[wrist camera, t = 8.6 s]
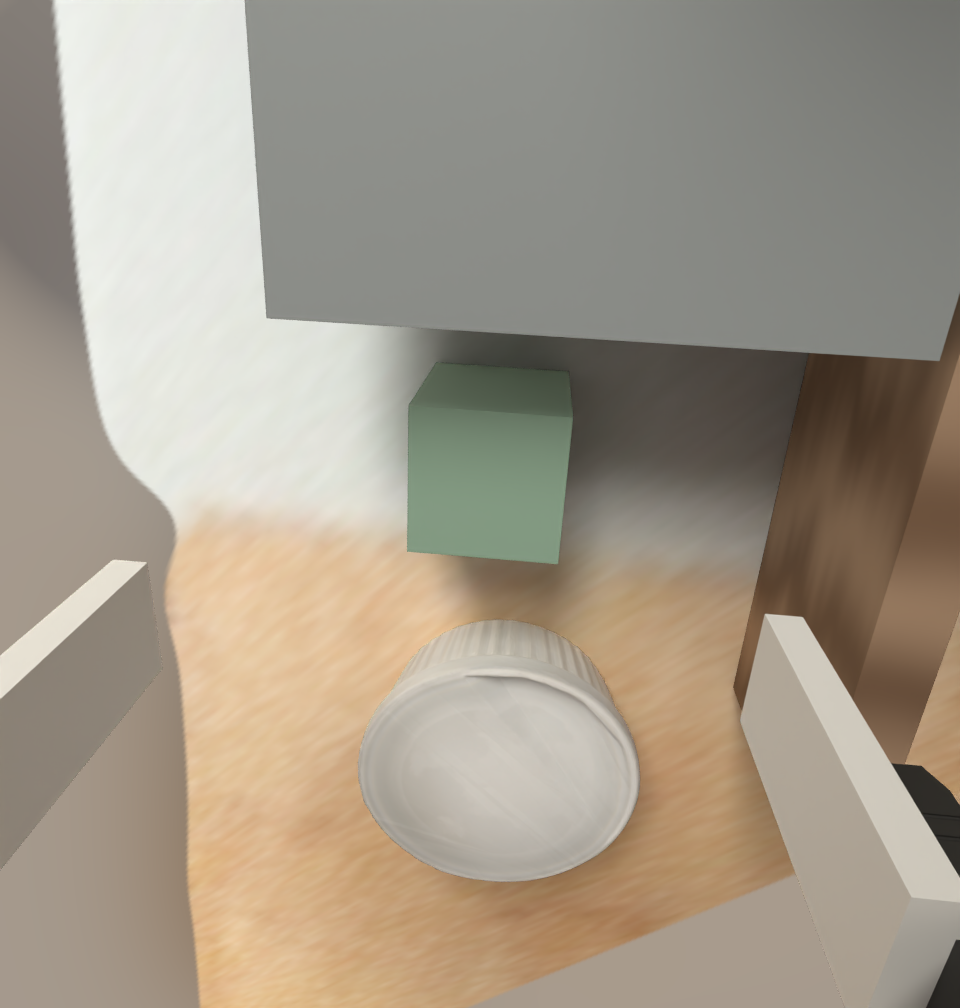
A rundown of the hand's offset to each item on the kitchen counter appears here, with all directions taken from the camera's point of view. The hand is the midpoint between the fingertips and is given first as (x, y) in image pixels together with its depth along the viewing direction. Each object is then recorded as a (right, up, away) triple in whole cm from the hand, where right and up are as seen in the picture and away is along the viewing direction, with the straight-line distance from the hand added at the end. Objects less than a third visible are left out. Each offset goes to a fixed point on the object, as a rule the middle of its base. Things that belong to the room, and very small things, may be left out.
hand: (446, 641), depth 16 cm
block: (+1, +6, +13) cm, 14 cm away
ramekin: (+2, -6, +18) cm, 19 cm away
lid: (+4, +13, +2) cm, 14 cm away
